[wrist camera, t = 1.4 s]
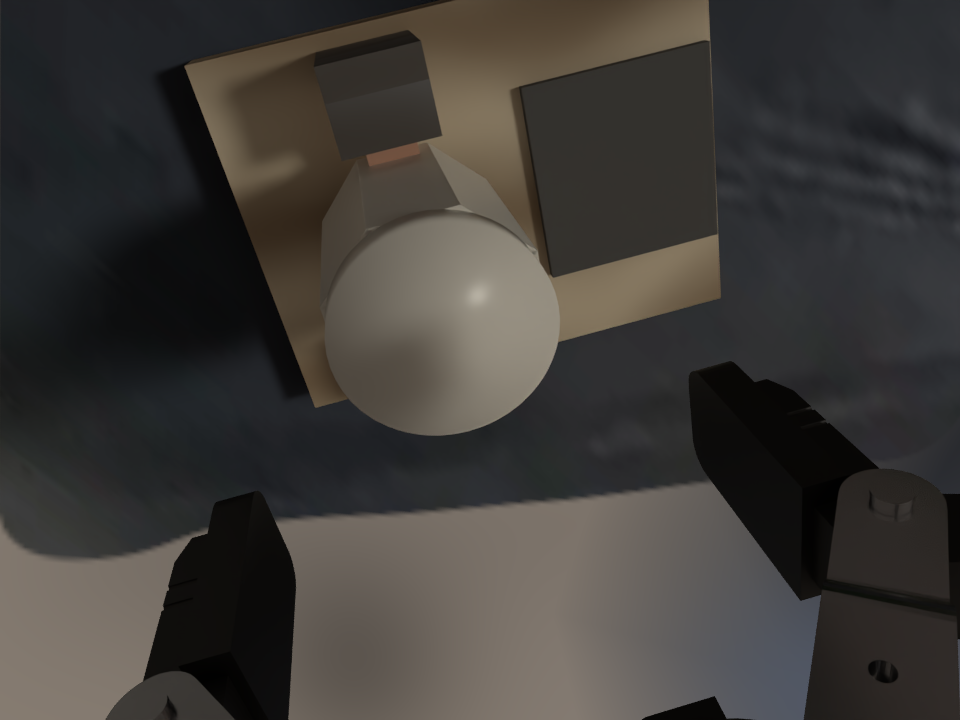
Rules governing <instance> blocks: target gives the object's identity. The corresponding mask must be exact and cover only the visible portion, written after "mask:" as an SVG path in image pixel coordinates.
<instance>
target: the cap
mask: <svg viewBox="0 0 960 720" xmlns="http://www.w3.org/2000/svg"><path fill="white" fill-rule="evenodd" d="M366 156H367V158H363V159H359V160H356V162H355V164H354V166H353V167H352V169H351V171H350V173H349V174H348V176H347V178H346V180H345V182H344V183H343V185H342V187H341V189H340V190H339V192H338V194H337V196H336V198H335V199H334V201H333V203H332V205H331V206H330V208H329V210H328V212H327V213H326V215H325V217H324V219H323V221H322V242H321V278H320V310H321V313H322V315H323V318H324V321H325V347H326V355H327V358H328V362H329V366H330V369H331V371H332V373H333V375H334V378H335V380H336V382H337V383H338V385H339V386H340V388H341V389H342V391H343V392H344V394H345V395H346V396H347V397H348V398H349V399H350V401H351V402H352V403H353V404H354V405H355V406H357V407H358V408H359V409H360V410H361V411H362V412H364V413H365V414H367V415H368V416H369V417H371V418H372V419H374V420H376V421H378V422H380V423H382V424H384V425H386V426H388V427H391V428H394V429H397V430H399V431H404V432H408V433H412V434H420V435H450V434H457V433H462V432H467V431H471V430H474V429H477V428H480V427H483V426H485V425H487V424H489V423H492V422H494V421H496V420H498V419H499V418H501V417H503V416H504V415H506V414H508V413H509V412H511V411H512V410H513V409H514V408H516V407H517V406H518V405H520V404H521V403H522V402H523V401H524V400H525V399H526V398H527V397H528V396H529V395H530V394H531V393H532V392H533V391H534V389H535V388H536V387H537V386H538V385H539V383H540V382H541V380H542V378H543V377H544V375H545V374H546V372H547V370H548V368H549V366H550V364H551V362H552V360H553V357H554V354H555V351H556V348H557V343H558V338H559V330H560V314H559V305H558V301H557V297H556V293H555V290H554V288H553V285H552V283H551V280H550V279H549V277H548V275H547V273H546V272H545V270H544V268H543V267H542V265H541V264H540V262H539V256H538V250H537V249H536V247H535V246H534V245H533V243H532V242H531V240H530V239H529V238H528V236H527V235H526V234H525V232H524V231H523V229H522V228H521V227H520V225H519V224H518V222H517V221H516V220H515V218H514V217H513V215H512V214H511V213H510V211H509V210H508V209H507V207H506V206H505V204H504V203H503V202H502V200H501V199H500V197H499V196H498V195H497V193H496V192H495V190H494V189H493V188H492V186H491V185H490V184H489V182H488V181H487V179H485V178H484V177H482V176H480V175H479V174H477V173H476V172H474V171H472V170H471V169H469V168H468V167H466V166H464V165H463V164H461V163H459V162H458V161H456V160H455V159H453V158H451V157H450V156H448V155H447V154H445V153H443V152H442V151H440V150H439V149H437V148H435V147H434V146H432V145H430V144H429V143H427V142H426V143H422V144H418V143H417V142H416V143H412V144H408V145H404V146H400V147H396V148H392V149H388V150H384V151H380V152H376V153H372V154H368V155H366Z"/></svg>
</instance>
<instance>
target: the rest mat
mask: <svg viewBox="0 0 960 720" xmlns="http://www.w3.org/2000/svg"><path fill="white" fill-rule="evenodd" d="M519 91H520V97H521V103H522V109H523V115H524V121H525V127H526V133H527V138H528V144H529V150H530V156H531V162H532V168H533V174H534V180H535V186H536V192H537V198H538V204H539V210H540V216H541V221H542V227H543V233H544V239H545V245H546V251H547V257H548V263H549V269H550V274H551V276H552V277H553V278H555V277H559V276H562V275H566V274H570V273H574V272H577V271H581V270H585V269H589V268H592V267H596V266H600V265H604V264H607V263H611V262H615V261H619V260H622V259H626V258H630V257H634V256H638V255H641V254H645V253H649V252H653V251H656V250H660V249H664V248H668V247H671V246H675V245H679V244H683V243H686V242H690V241H694V240H698V239H701V238H705V237H709V236H713V235H717V234H718V229H717V205H716V181H715V157H714V133H713V110H712V86H711V62H710V41H707V40H703V41H699V42H695V43H691V44H687V45H683V46H679V47H675V48H671V49H667V50H663V51H659V52H655V53H651V54H647V55H643V56H639V57H635V58H631V59H627V60H623V61H619V62H615V63H611V64H607V65H603V66H599V67H595V68H591V69H587V70H583V71H579V72H575V73H571V74H567V75H563V76H559V77H555V78H551V79H547V80H543V81H539V82H535V83H531V84H527V85H523V86H519Z"/></svg>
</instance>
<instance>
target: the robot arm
mask: <svg viewBox="0 0 960 720" xmlns="http://www.w3.org/2000/svg"><path fill="white" fill-rule="evenodd" d="M689 394H690V408H691V421H692V434H693V443H694V448H695V451H696V455H697V457H698V460H699V462H700V464H701V467H702V468H703V470H704V472H705V473H706V474H707V476H708V477H709V479H710V480H711V481H712V483H713V484H714V485H715V487H716V488H717V489H718V491H719V492H720V493H721V495H722V496H723V497H724V499H725V500H726V501H727V503H728V504H729V505H730V507H731V508H732V509H733V511H734V512H735V513H736V515H737V516H738V517H739V519H740V520H741V521H742V523H743V524H744V525H745V527H746V528H747V530H748V531H749V532H750V533H751V535H752V536H753V537H754V539H755V540H756V541H757V543H758V544H759V546H760V547H761V548H762V550H763V551H764V552H765V554H766V555H767V556H768V558H769V559H770V560H771V562H772V563H773V564H774V566H775V567H776V568H777V570H778V571H779V572H780V574H781V575H782V577H783V578H784V579H785V581H786V582H787V583H788V584H789V586H790V587H791V588H792V590H793V591H794V593H795V594H796V595H797V597H798V598H799V599H800V600H801V601H802V600H805V599H808V598H812V597H815V596H818V595H821V601H820V608H819V615H818V622H817V629H816V636H815V643H814V650H813V658H812V665H811V672H810V679H809V686H808V693H807V700H806V707H805V715H804V720H960V698H959V668H958V641H957V640H958V639H960V494H942V493H941V492H940V491H939V490H938V489H937V488H936V487H935V486H934V485H933V484H931V483H930V482H928V481H927V480H925V479H923V478H921V477H919V476H916V475H914V474H911V473H908V472H904V471H899V470H894V469H879V468H878V467H877V466H876V465H875V464H874V463H873V462H872V461H870V460H869V459H868V458H867V457H866V456H865V455H864V454H863V453H862V452H861V451H859V450H858V449H857V448H856V447H855V446H854V445H853V444H852V443H851V442H850V441H848V440H847V439H846V438H845V437H844V436H843V435H842V434H841V433H840V432H839V431H837V430H836V429H835V428H834V427H833V426H832V425H831V424H830V423H828V424H827V423H826V420H825V419H824V418H823V417H822V416H821V415H820V414H819V413H818V412H817V411H815V410H812V409H811V406H810V405H809V404H808V403H807V402H806V401H804V400H803V399H802V398H801V397H800V396H799V395H798V394H797V393H796V392H795V391H793V390H791V389H789V388H787V387H784V386H782V385H780V384H777V383H775V382H772V381H770V380H768V379H766V380H762V381H758V382H754V381H753V380H752V379H751V378H750V377H749V376H748V375H747V374H746V373H744V372H743V371H742V370H741V369H740V368H739V367H738V366H737V365H736V364H735V363H734V362H732V361H729V362H725V363H722V364H718V365H714V366H711V367H707V368H703V369H700V370H696V371H693V372H691V373H690V375H689ZM168 587H169V591H167V593H166V597H165V601H164V604H163V607H164V610H163V611H162V612H161V616H160V619H159V623H158V627H157V631H156V634H155V638H154V642H153V646H152V649H151V653H150V657H149V661H148V664H147V668H146V672H145V676H144V680H143V682H141V683H140V684H138V685H137V686H135V687H134V688H133V689H131V690H130V691H129V692H128V693H127V694H125V695H124V696H123V697H122V698H121V699H120V700H119V702H118V703H117V704H116V705H115V706H114V707H113V709H112V710H111V712H110V713H109V715H108V716H107V718H106V720H288V715H289V698H290V681H291V663H292V646H293V629H294V611H295V595H296V579H295V572H294V567H293V563H292V560H291V556H290V553H289V551H288V549H287V547H286V544H285V542H284V540H283V538H282V536H281V533H280V531H279V529H278V527H277V525H276V522H275V520H274V518H273V516H272V514H271V511H270V509H269V507H268V505H267V503H266V500H265V498H264V497H263V495H262V494H261V493H260V492H259V491H254V492H251V493H247V494H244V495H240V496H236V497H233V498H229V499H225V500H222V501H218V502H216V503H215V504H214V507H213V511H212V516H211V520H210V525H209V529H208V534H205V535H201V536H198V537H194V538H192V539H191V540H190V542H189V543H188V545H187V546H186V547H185V549H184V550H183V551H182V553H181V554H180V556H179V557H178V559H177V560H176V561H175V563H174V567H173V570H172V574H171V578H170V582H169V585H168ZM642 720H751V719H738V718H737V719H726V717H725V715H724V713H723V711H722V709H721V707H720V705H719V703H718V702H717V700H716V698H715V696H714V697H710V698H707V699H704V700H701V701H698V702H694V703H691V704H687V705H684V706H681V707H677V708H675V709H671V710H668V711H664V712H661V713H658V714H654V715H651V716H648V717H645V718H644V719H642Z"/></svg>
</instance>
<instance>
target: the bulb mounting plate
mask: <svg viewBox="0 0 960 720" xmlns="http://www.w3.org/2000/svg"><path fill="white" fill-rule="evenodd" d="M703 40H707V41H710V28H709V4H708V0H439V1H435V2H431V3H427V4H423V5H418V6H414V7H410V8H406V9H402V10H398V11H394V12H389V13H385V14H381V15H377V16H373V17H369V18H365V19H361V20H356V21H352V22H348V23H344V24H340V25H336V26H332V27H327V28H323V29H319V30H315V31H311V32H307V33H303V34H298V35H294V36H290V37H286V38H282V39H278V40H274V41H270V42H265V43H261V44H257V45H253V46H249V47H245V48H241V49H236V50H232V51H228V52H224V53H220V54H216V55H212V56H207V57H203V58H199V59H195V60H192V61H190V62H189V63H188V64H186V65H185V69H186V72H187V74H188V77H189V79H190V82H191V85H192V87H193V90H194V93H195V95H196V98H197V100H198V103H199V106H200V108H201V111H202V113H203V116H204V119H205V121H206V124H207V126H208V129H209V132H210V134H211V137H212V139H213V142H214V145H215V147H216V150H217V153H218V155H219V158H220V160H221V163H222V166H223V168H224V171H225V173H226V176H227V179H228V181H229V184H230V186H231V189H232V192H233V194H234V197H235V199H236V202H237V205H238V207H239V210H240V213H241V215H242V218H243V220H244V223H245V226H246V228H247V231H248V233H249V236H250V239H251V241H252V244H253V246H254V249H255V252H256V254H257V257H258V259H259V262H260V265H261V267H262V270H263V273H264V275H265V278H266V280H267V283H268V286H269V288H270V291H271V293H272V296H273V299H274V301H275V304H276V306H277V309H278V312H279V314H280V317H281V319H282V322H283V325H284V327H285V330H286V333H287V335H288V338H289V340H290V343H291V346H292V348H293V351H294V353H295V356H296V359H297V361H298V364H299V366H300V369H301V372H302V374H303V377H304V379H305V382H306V385H307V387H308V390H309V393H310V395H311V398H312V400H313V403H314V406H315V408H316V407H320V406H324V405H327V404H331V403H335V402H338V401H342V400H346V399H349V398H348V397H347V396H346V395H345V394H344V392H343V391H342V389H341V388H340V386H339V385H338V383H337V382H336V380H335V378H334V375H333V373H332V371H331V369H330V366H329V362H328V358H327V355H326V347H325V321H324V318H323V315H322V313H321V310H320V278H321V242H322V221H323V219H324V217H325V215H326V213H327V212H328V210H329V208H330V206H331V205H332V203H333V201H334V199H335V198H336V196H337V194H338V192H339V190H340V189H341V187H342V185H343V183H344V182H345V180H346V178H347V176H348V174H349V173H350V171H351V169H352V167H353V166H354V164H355V162H356V160H359V159H363V158H367V156H366V155H368V154H372V153H376V152H380V151H384V150H388V149H392V148H396V147H400V146H404V145H408V144H412V143H416V142H417V143H418V144H422V143H426V142H427V143H429V144H430V145H432V146H434V147H435V148H437V149H439V150H440V151H442V152H443V153H445V154H447V155H448V156H450V157H451V158H453V159H455V160H456V161H458V162H459V163H461V164H463V165H464V166H466V167H468V168H469V169H471V170H472V171H474V172H476V173H477V174H479V175H480V176H482V177H484V178H485V179H487V181H488V182H489V184H490V185H491V186H492V188H493V189H494V190H495V192H496V193H497V195H498V196H499V197H500V199H501V200H502V202H503V203H504V204H505V206H506V207H507V209H508V210H509V211H510V213H511V214H512V215H513V217H514V218H515V220H516V221H517V222H518V224H519V225H520V227H521V228H522V229H523V231H524V232H525V234H526V235H527V236H528V238H529V239H530V240H531V242H532V243H533V245H534V246H535V247H536V249H537V250H538V256H539V262H540V264H541V265H542V267H543V268H544V270H545V272H546V273H547V275H548V277H549V279H550V280H551V283H552V285H553V288H554V290H555V293H556V297H557V301H558V305H559V314H560V330H559V338H558V342H560V341H564V340H567V339H571V338H575V337H578V336H582V335H586V334H589V333H593V332H597V331H600V330H604V329H608V328H612V327H615V326H619V325H623V324H626V323H630V322H634V321H637V320H641V319H645V318H648V317H652V316H656V315H659V314H663V313H667V312H671V311H674V310H678V309H682V308H685V307H689V306H693V305H696V304H700V303H704V302H707V301H711V300H715V299H719V298H721V292H720V268H719V244H718V234H717V235H713V236H709V237H705V238H701V239H698V240H694V241H690V242H686V243H683V244H679V245H675V246H671V247H668V248H664V249H660V250H656V251H653V252H649V253H645V254H641V255H638V256H634V257H630V258H626V259H622V260H619V261H615V262H611V263H607V264H604V265H600V266H596V267H592V268H589V269H585V270H581V271H577V272H574V273H570V274H566V275H562V276H559V277H555V278H553V277H552V276H551V274H550V269H549V263H548V257H547V251H546V245H545V239H544V233H543V227H542V221H541V216H540V210H539V204H538V198H537V192H536V186H535V180H534V174H533V168H532V162H531V156H530V150H529V144H528V138H527V133H526V127H525V121H524V115H523V109H522V103H521V97H520V91H519V86H523V85H527V84H531V83H535V82H539V81H543V80H547V79H551V78H555V77H559V76H563V75H567V74H571V73H575V72H579V71H583V70H587V69H591V68H595V67H599V66H603V65H607V64H611V63H615V62H619V61H623V60H627V59H631V58H635V57H639V56H643V55H647V54H651V53H655V52H659V51H663V50H667V49H671V48H675V47H679V46H683V45H687V44H691V43H695V42H699V41H703ZM710 62H711V52H710ZM711 86H712V76H711ZM712 110H713V100H712ZM713 133H714V124H713ZM714 157H715V148H714ZM715 181H716V172H715ZM716 205H717V196H716ZM717 229H718V220H717Z"/></svg>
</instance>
